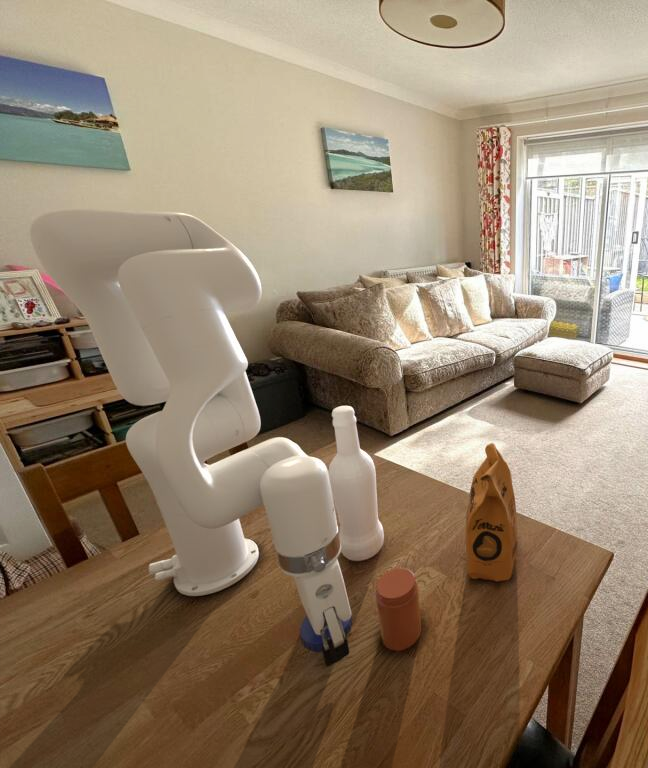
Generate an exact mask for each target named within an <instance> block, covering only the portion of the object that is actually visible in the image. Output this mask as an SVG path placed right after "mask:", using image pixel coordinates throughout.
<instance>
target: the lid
mask: <svg viewBox="0 0 648 768" xmlns="http://www.w3.org/2000/svg"><path fill="white" fill-rule="evenodd" d="M352 615H353V614H352ZM352 615H351V618H350V619H349V620H347V621H345V622H344V621H342V620H341V622H342V625H343V629H344V632H345V633H346V637H347V638H348V635H349V634H350V632H351V630H352V626H353V616H352ZM324 622H325V623H326V621H325V620H324ZM325 634H326V637H327V639H328V638H329V637H331V636H330V633H329V630H326V631H325ZM299 635H300V641H301V643H302V645H303V646H304V649H305V648H306V649H307V650H308V651H309V652H310V651H311V652H313V653H323V652H322V648H321V645H322V644H323V642H322V638H321V635H317V634H315V632H314V630H313V627H312V625H311V623H310V621H309V619H308V616H307V615H306V616H305V617H304V618H303V620H302V622H301V624H300V629H299Z"/></svg>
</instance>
